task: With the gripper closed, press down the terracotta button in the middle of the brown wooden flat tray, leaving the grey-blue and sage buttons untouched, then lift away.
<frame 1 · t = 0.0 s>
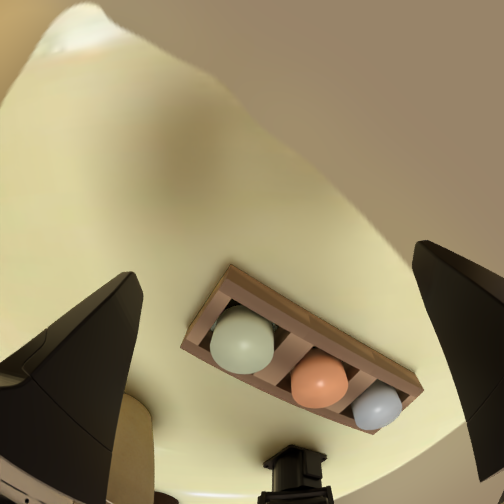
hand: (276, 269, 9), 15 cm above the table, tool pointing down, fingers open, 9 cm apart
coffee mug: (157, 498, 42), on the table
brown wooden flat tray: (314, 359, 28), on the table
terracotta button: (318, 378, 25), point 3 cm above the table, slide at 0.0 cm
sage button: (243, 340, 24), point 3 cm above the table, slide at 0.0 cm
slate button: (375, 404, 26), point 3 cm above the table, slide at 0.0 cm
plant pot: (126, 409, 33), on the table
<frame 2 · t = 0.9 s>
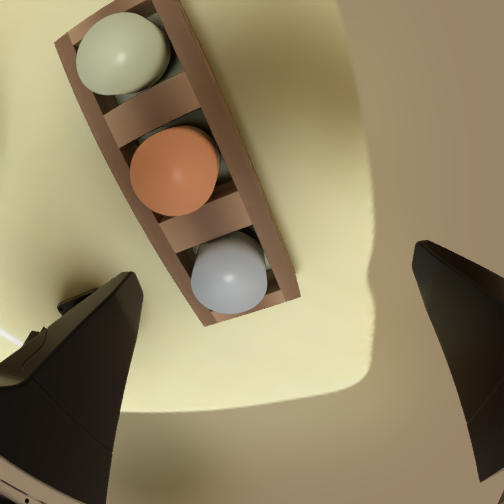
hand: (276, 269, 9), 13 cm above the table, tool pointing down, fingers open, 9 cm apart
brown wooden flat tray: (185, 157, 20), on the table
terracotta button: (177, 168, 17), point 3 cm above the table, slide at 0.0 cm
sage button: (124, 54, 14), point 3 cm above the table, slide at 0.0 cm
slate button: (229, 272, 21), point 3 cm above the table, slide at 0.0 cm
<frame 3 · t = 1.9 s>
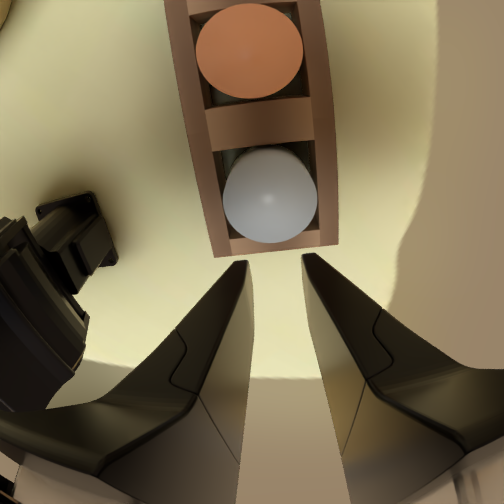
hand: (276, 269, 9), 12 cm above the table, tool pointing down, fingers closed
brown wooden flat tray: (251, 56, 16), on the table
terracotta button: (249, 52, 13), point 3 cm above the table, slide at 0.0 cm
slate button: (269, 191, 17), point 3 cm above the table, slide at 0.0 cm
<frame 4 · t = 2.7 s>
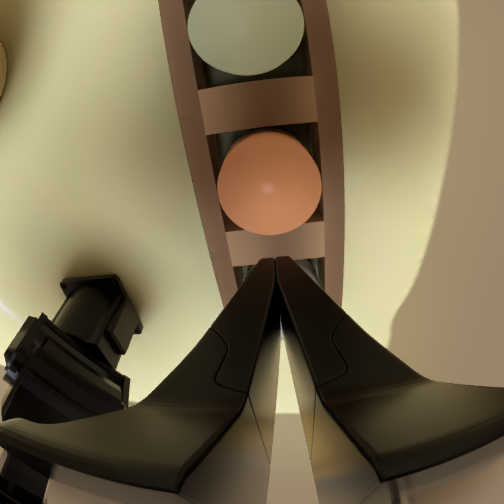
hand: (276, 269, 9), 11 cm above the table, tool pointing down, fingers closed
brown wooden flat tray: (267, 163, 18), on the table
terracotta button: (268, 179, 16), point 3 cm above the table, slide at 0.0 cm
sage button: (246, 28, 11), point 3 cm above the table, slide at 0.0 cm
slate button: (282, 297, 20), point 3 cm above the table, slide at 0.0 cm
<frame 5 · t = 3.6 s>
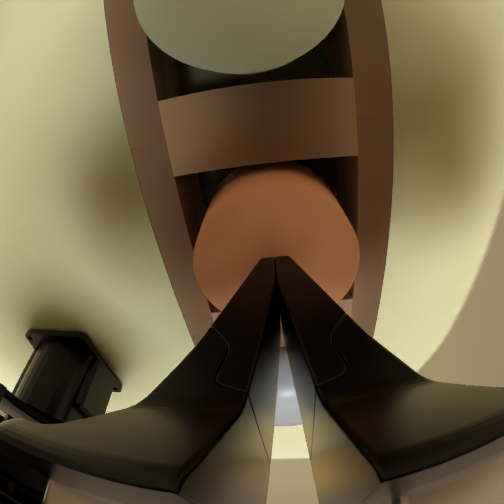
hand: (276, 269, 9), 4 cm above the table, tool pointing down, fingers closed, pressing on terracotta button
brown wooden flat tray: (271, 207, 13), on the table
terracotta button: (275, 242, 10), point 3 cm above the table, slide at -0.1 cm, touching gripper
slate button: (288, 380, 14), point 3 cm above the table, slide at 0.0 cm
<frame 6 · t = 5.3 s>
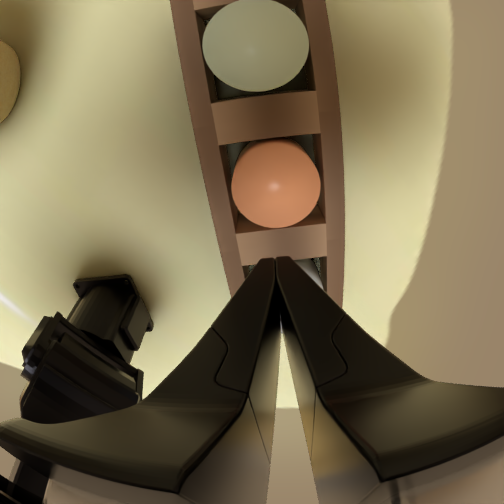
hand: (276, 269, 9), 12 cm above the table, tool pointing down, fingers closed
brown wooden flat tray: (273, 170, 20), on the table
terracotta button: (274, 179, 18), point 2 cm above the table, slide at -1.0 cm
sage button: (255, 46, 13), point 3 cm above the table, slide at 0.0 cm
slate button: (287, 293, 21), point 3 cm above the table, slide at 0.0 cm
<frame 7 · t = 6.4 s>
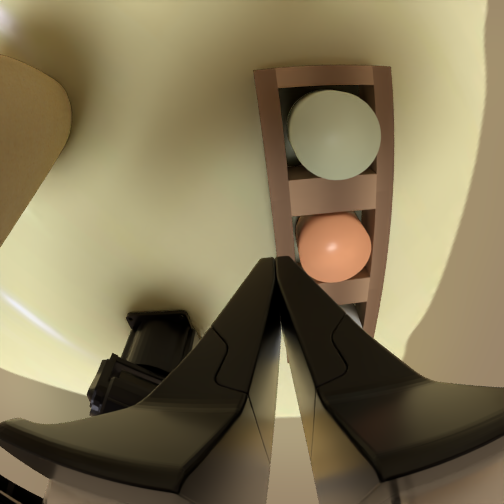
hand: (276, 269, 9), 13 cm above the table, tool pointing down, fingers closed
brown wooden flat tray: (326, 228, 23), on the table
terracotta button: (331, 241, 21), point 2 cm above the table, slide at -1.0 cm
sage button: (331, 131, 16), point 3 cm above the table, slide at 0.0 cm
slate button: (332, 329, 25), point 3 cm above the table, slide at 0.0 cm
plant pot: (41, 119, 18), on the table
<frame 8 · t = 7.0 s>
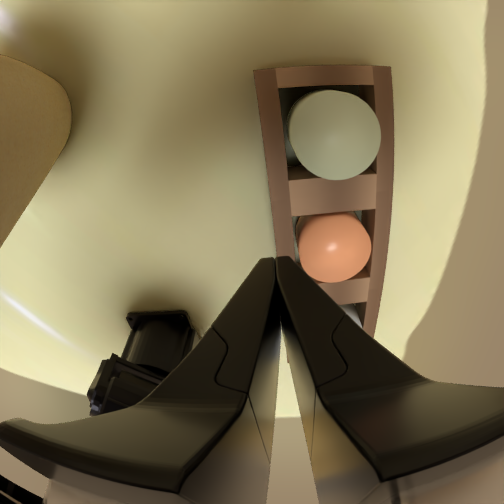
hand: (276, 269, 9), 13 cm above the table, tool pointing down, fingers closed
brown wooden flat tray: (326, 228, 23), on the table
terracotta button: (331, 241, 21), point 2 cm above the table, slide at -1.0 cm
sage button: (331, 131, 16), point 3 cm above the table, slide at 0.0 cm
slate button: (332, 329, 25), point 3 cm above the table, slide at 0.0 cm
plant pot: (41, 119, 18), on the table
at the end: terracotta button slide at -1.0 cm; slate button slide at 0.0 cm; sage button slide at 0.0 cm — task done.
